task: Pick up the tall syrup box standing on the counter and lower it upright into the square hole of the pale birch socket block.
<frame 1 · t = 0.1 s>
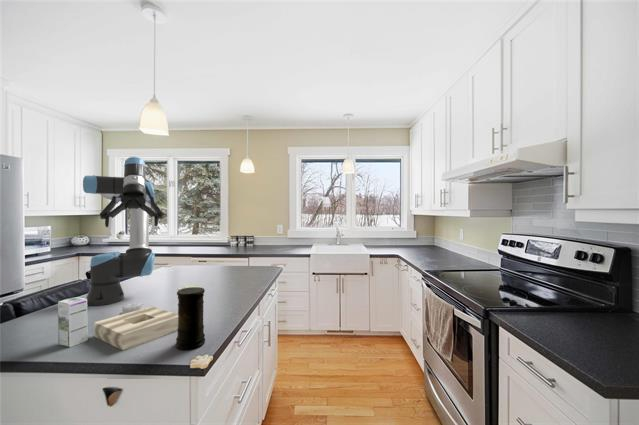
hand: (132, 233, 107), 36 cm above the countertop, tool tilted 35°, fingers open, 13 cm apart
can: (189, 315, 123), on the countertop
container: (190, 344, 96), on the countertop
mechanical component: (133, 316, 123), on the countertop
socket block: (139, 332, 105), on the countertop
syrup box: (73, 343, 97), on the countertop
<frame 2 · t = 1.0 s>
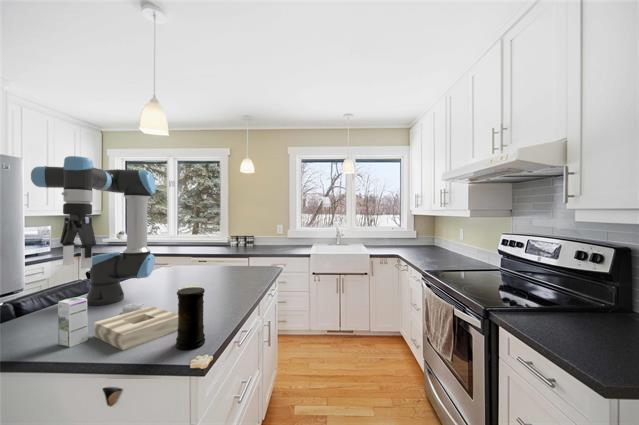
hand: (77, 266, 97), 25 cm above the countertop, tool pointing down, fingers open, 13 cm apart
nothing on the countertop moved.
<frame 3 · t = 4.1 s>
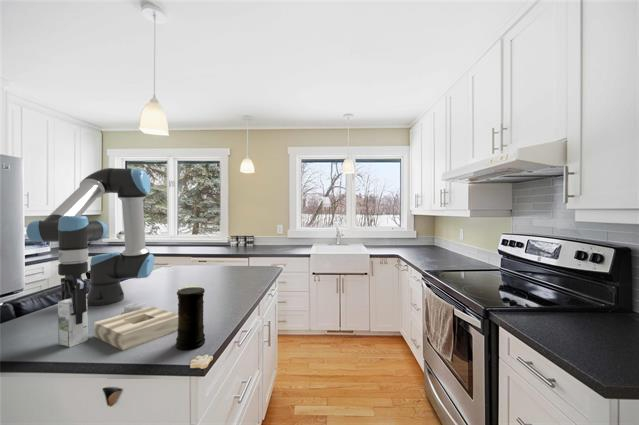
hand: (73, 330, 97), 4 cm above the countertop, tool pointing down, fingers closed on syrup box, 6 cm apart
syrup box: (73, 343, 97), on the countertop, touching gripper
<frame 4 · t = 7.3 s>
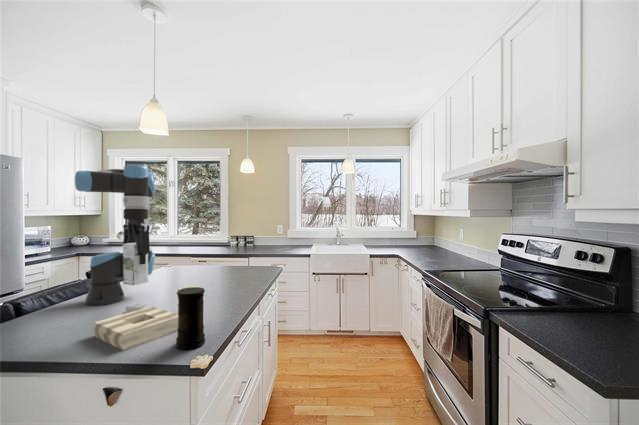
hand: (135, 272, 104), 22 cm above the countertop, tool pointing down, fingers closed on syrup box, 6 cm apart
syrup box: (135, 283, 104), point 18 cm above the countertop, touching gripper
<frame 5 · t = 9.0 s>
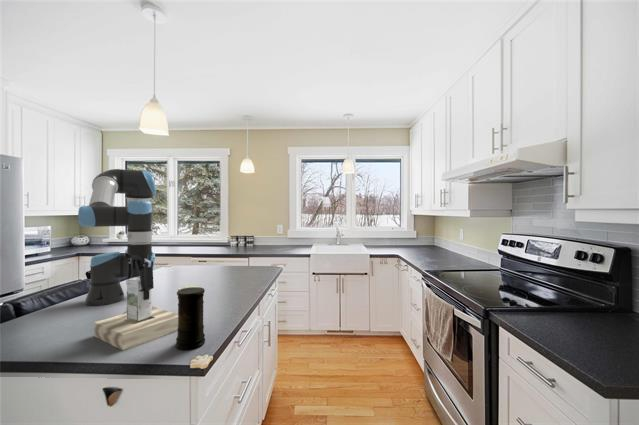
hand: (139, 306, 105), 9 cm above the countertop, tool pointing down, fingers closed on syrup box, 6 cm apart
syrup box: (139, 318, 105), point 5 cm above the countertop, touching gripper
when the fingers open (6 cm above the countertop, at t = 10.4 s): syrup box drops 2 cm, resting in socket block.
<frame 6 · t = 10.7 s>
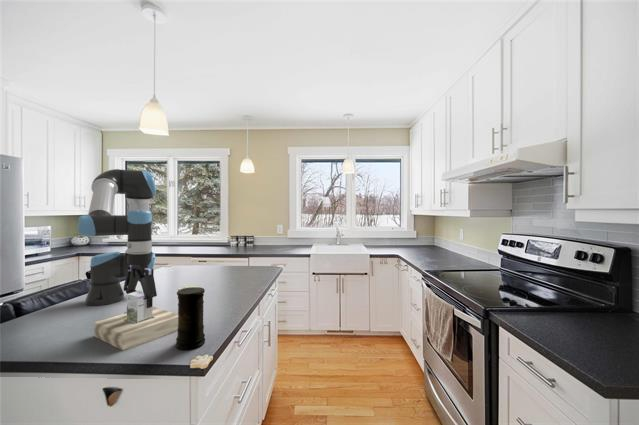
hand: (139, 313, 105), 7 cm above the countertop, tool pointing down, fingers open, 10 cm apart
syrup box: (139, 333, 105), resting in socket block
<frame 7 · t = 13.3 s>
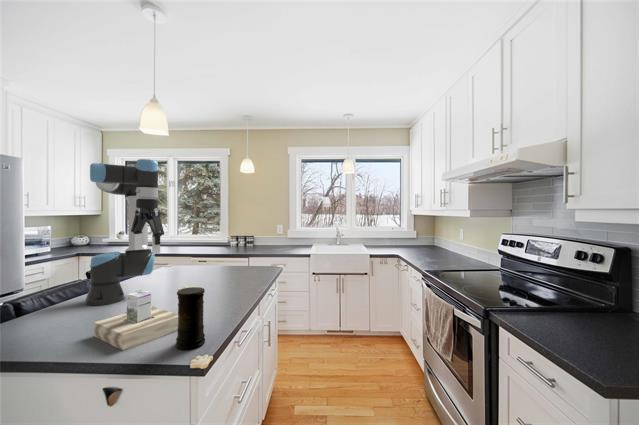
hand: (146, 251, 116), 28 cm above the countertop, tool pointing down, fingers open, 13 cm apart
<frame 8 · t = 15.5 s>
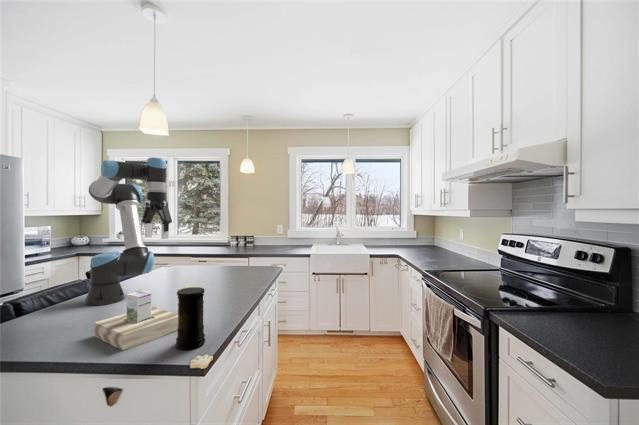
hand: (156, 238, 133), 32 cm above the countertop, tool pointing down, fingers open, 13 cm apart
at the end: syrup box 0.1 cm off-centre on the socket block, point 0.0 cm above the socket block's base; syrup box tilted 0°; the gripper is holding nothing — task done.
